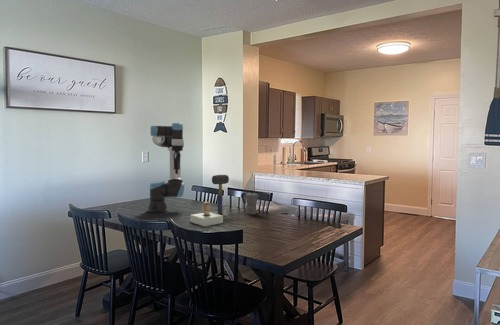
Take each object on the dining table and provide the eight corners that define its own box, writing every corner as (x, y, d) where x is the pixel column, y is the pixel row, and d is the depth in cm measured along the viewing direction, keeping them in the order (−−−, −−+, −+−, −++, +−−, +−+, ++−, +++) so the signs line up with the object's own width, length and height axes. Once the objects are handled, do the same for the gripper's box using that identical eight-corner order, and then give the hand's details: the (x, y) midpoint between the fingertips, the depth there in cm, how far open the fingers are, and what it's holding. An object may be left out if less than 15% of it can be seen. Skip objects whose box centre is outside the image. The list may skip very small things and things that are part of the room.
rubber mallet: (215, 214, 282) (216, 175, 280) (210, 213, 288) (211, 174, 285) (229, 212, 290) (229, 174, 287) (223, 211, 295) (224, 173, 293)
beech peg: (202, 222, 256) (202, 202, 255) (207, 221, 259) (207, 201, 258) (206, 223, 253) (206, 203, 252) (211, 222, 256) (211, 202, 255)
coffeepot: (261, 213, 291) (261, 190, 290) (256, 215, 283) (256, 192, 281) (243, 211, 298) (244, 188, 296) (238, 213, 289) (238, 190, 288)
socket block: (190, 221, 257) (190, 214, 256) (208, 218, 268) (209, 211, 267) (204, 226, 245) (204, 218, 245) (222, 222, 256) (223, 215, 256)
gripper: (180, 145, 254) (180, 179, 255) (184, 145, 267) (184, 177, 268) (169, 145, 254) (169, 179, 255) (174, 144, 267) (173, 177, 268)
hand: (176, 178), depth 262 cm, fingers closed
